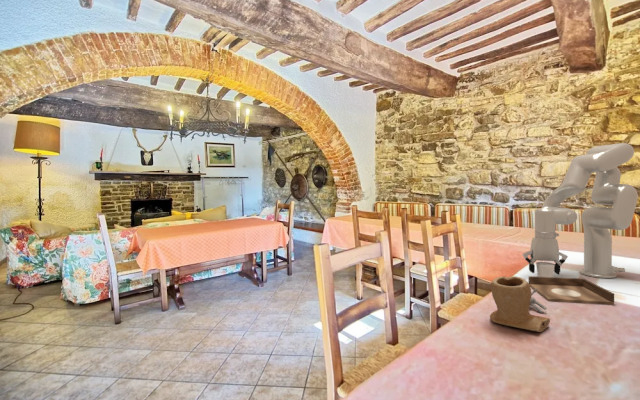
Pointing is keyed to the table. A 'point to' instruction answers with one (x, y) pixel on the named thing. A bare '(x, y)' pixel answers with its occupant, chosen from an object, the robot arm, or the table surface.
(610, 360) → the table surface
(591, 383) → the table surface
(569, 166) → the robot arm
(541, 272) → the shot glass
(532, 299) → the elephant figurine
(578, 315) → the table surface
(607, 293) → the corner board
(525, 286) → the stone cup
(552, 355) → the table surface
